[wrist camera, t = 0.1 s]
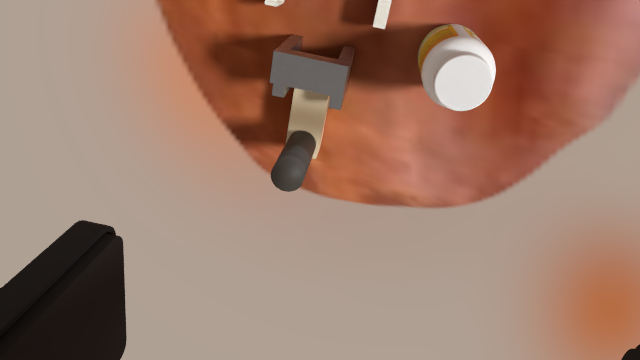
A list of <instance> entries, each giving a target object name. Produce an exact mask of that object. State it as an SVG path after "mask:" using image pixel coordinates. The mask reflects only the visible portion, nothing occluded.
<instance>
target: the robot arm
mask: <svg viewBox="0 0 640 360" xmlns="http://www.w3.org/2000/svg"><path fill="white" fill-rule="evenodd" d="M125 346H126V315H125V287H124V255H123V240H122V238H121V237H120V236H116V233H115V230H114V228H113V227H111V226H107V225H102V224H98V223H93V222H88V221H84V220H83V221H78V222H77V223H75V224H74V225H73V226H72V227H70V228H69V229H68V230H67V231H66V232H65V233H64V234H63V235H61V236H60V237H59V238H58V239H57V240H56V241H55V242H53V243H52V244H51V245H50V246H49V247H48V248H47V249H45V250H44V251H43V252H42V253H41V254H40V255H38V256H37V257H36V258H35V259H34V260H33V261H32V262H31V263H29V264H28V265H27V266H26V267H25V268H24V269H23V270H21V271H20V272H19V273H18V274H17V275H16V276H15V277H13V278H12V279H11V280H10V281H9V282H8V283H7V284H5V285H4V286H3V287H2V288H0V360H120V359H121V357H122V355H123V353H124V350H125ZM622 360H640V345H638V346H637V347H636V348H635V349H630V350H628V351H627V352H626V353H625V355H624V356H623V358H622Z"/></svg>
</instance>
